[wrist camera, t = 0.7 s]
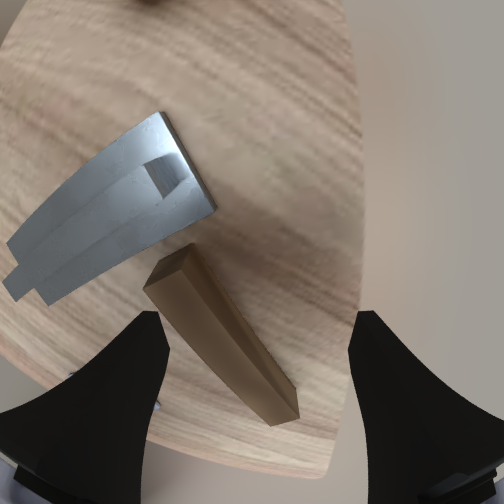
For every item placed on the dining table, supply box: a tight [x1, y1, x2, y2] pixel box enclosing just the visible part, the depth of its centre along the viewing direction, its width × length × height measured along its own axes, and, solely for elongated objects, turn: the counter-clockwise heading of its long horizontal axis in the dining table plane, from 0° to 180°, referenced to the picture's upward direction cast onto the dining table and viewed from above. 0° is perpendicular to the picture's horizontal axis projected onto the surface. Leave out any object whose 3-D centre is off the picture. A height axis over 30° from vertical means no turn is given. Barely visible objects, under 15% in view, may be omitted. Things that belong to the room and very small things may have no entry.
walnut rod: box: [143, 243, 300, 427], centre depth 21 cm, size 3×18×4 cm, turn 28°
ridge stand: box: [2, 111, 217, 306], centre depth 16 cm, size 18×7×5 cm, turn 117°
